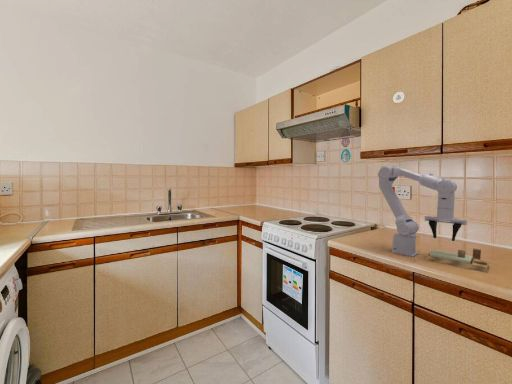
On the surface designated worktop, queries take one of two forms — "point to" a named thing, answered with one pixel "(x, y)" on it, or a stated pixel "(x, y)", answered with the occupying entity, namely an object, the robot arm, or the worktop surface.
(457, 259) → the lid
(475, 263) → the shallow wooden tray
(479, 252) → the dark brown rectangular block
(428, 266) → the worktop surface
